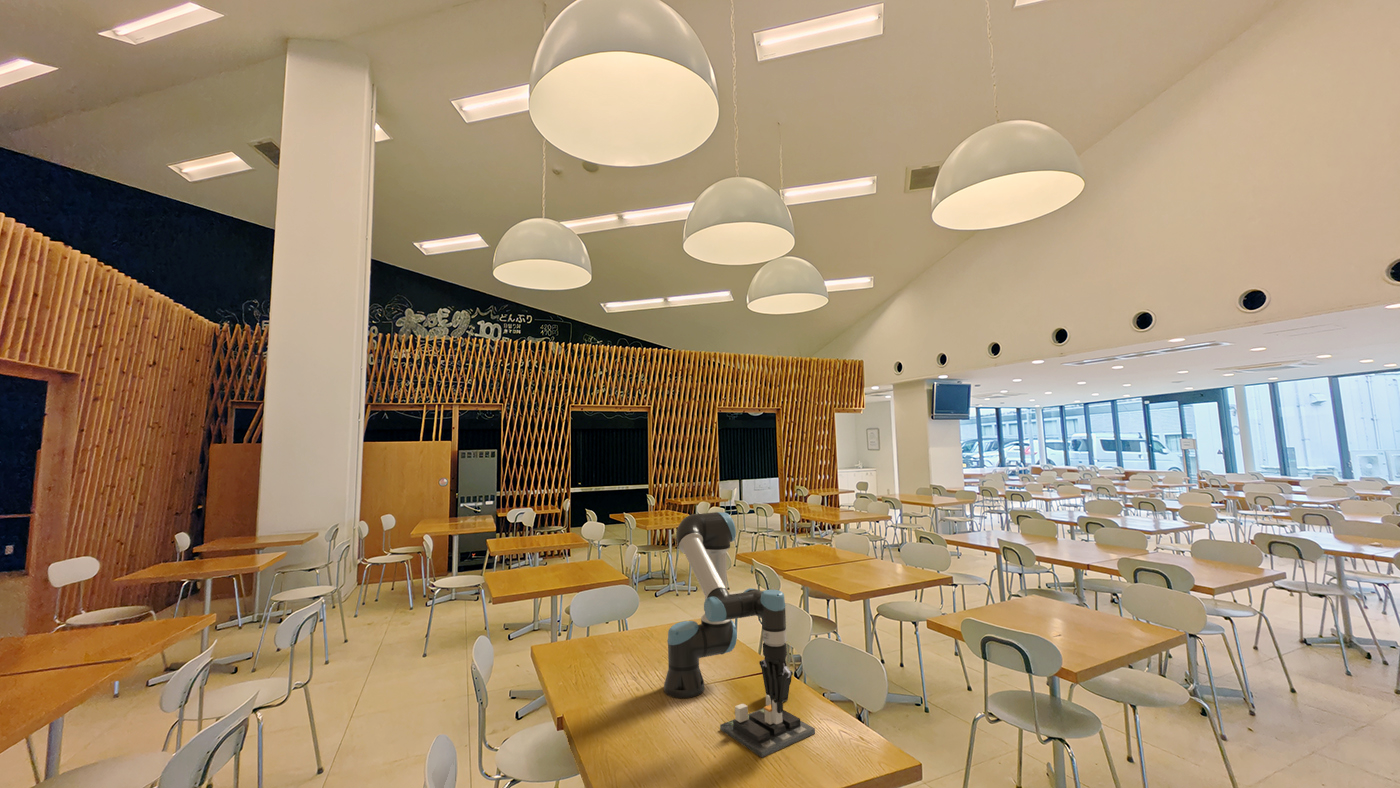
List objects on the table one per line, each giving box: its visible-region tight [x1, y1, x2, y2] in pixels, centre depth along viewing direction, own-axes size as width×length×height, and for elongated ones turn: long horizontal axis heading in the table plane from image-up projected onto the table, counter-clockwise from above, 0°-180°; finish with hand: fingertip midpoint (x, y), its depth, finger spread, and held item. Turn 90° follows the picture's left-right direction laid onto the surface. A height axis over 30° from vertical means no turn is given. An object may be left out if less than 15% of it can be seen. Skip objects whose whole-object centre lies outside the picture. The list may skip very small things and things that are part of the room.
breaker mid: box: [763, 705, 773, 724], centre depth 167 cm, size 2×3×4 cm
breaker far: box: [765, 694, 771, 706], centre depth 176 cm, size 2×3×4 cm
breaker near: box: [734, 703, 749, 722], centre depth 168 cm, size 2×3×4 cm
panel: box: [719, 707, 816, 759], centre depth 168 cm, size 20×22×4 cm
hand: (777, 722), depth 164 cm, fingers closed
